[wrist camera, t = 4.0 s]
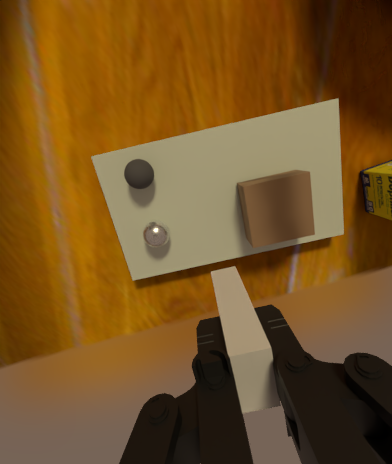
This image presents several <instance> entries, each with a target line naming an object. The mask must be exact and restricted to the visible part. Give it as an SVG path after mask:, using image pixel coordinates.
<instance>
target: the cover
mask: <svg viewBox="0 0 392 464" xmlns="http://www.w3.org/2000/svg"><path fill="white" fill-rule="evenodd" d="M237 188H238V194H239V200H240V206H241V212H242V217H243V223H244V229H245V235H246V239H247V240H248V242H249V243H250V244H251V246H252V247H253V248H256V247H261V246H266V245H270V244H275V243H279V242H284V241H288V240H293V239H297V238H302V237H306V236H311V235H315V229H314V216H313V203H312V190H311V177H310V172H309V171H302V170H292V171H287V172H283V173H279V174H274V175H270V176H266V177H261V178H257V179H252V180H248V181H244V182H239V183H237Z"/></svg>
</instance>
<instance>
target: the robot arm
mask: <svg viewBox="0 0 392 464" xmlns="http://www.w3.org/2000/svg"><path fill="white" fill-rule="evenodd" d="M211 276H212V281H213V285H214V290H215V295H216V300H217V305H218V309H219V314H220V316H219V317H214V318H209V319H205V320H200V322H199V324H198V326H197V344H198V345H197V346H198V354H197V355H196V356H195V358H194V359H193V362H192V369H193V373H194V376H195V379H196V383H195V385H194V386H193V387H192V388H191V389H190V390H188V391H187V392H186V393H184V394H182V395H180V396H179V397H177V398H174V397H173V396H172V395H169V394H165V393H164V394H158V395H156V396H154V397H152V398H150V399H149V400H148V401H147V402H146V403H145V404H144V406H143V407H142V409H141V411H140V413H139V415H138V418H137V420H136V423H135V425H134V428H133V431H132V433H131V435H130V438H129V440H128V443H127V445H126V448H125V450H124V453H123V455H122V458H121V460H120V463H119V464H200V463H201V464H253V459H252V455H251V450H250V446H249V441H248V437H247V432H246V427H245V423H244V419H243V414H242V413H246V412H252V411H257V410H261V409H267V408H272V407H277V406H280V401H281V403H282V406H283V408H284V413H285V419H286V425H287V432H288V436H292V439H293V441H294V444H295V447H296V450H297V453H298V455H299V458H300V460H301V463H302V464H392V366H391V365H389V364H388V363H387V362H385V361H384V360H382V359H380V358H379V357H377V356H374V355H371V354H368V353H354V354H350V355H349V356H348V357H346V358H345V361H344V364H339V363H328V362H322V361H319V360H316V359H314V358H313V357H312V356H311V355H310V354H309V353H307V352H305V351H304V350H303V349H302V347H301V345H300V344H299V342H298V340H297V339H296V337H295V335H294V333H293V332H292V330H291V329H290V327H289V325H288V324H287V322H286V320H285V319H284V317H283V315H282V314H281V312H280V310H279V309H277V308H276V307H274V306H273V305H267V306H262V307H258V308H253V305H252V303H251V301H250V298H249V296H248V294H247V292H246V289H245V287H244V285H243V283H242V280H241V278H240V276H239V274H238V271H237V269H236V267H235V266H233V267H229V268H224V269H220V270H215V271H211ZM279 398H280V399H279Z"/></svg>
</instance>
